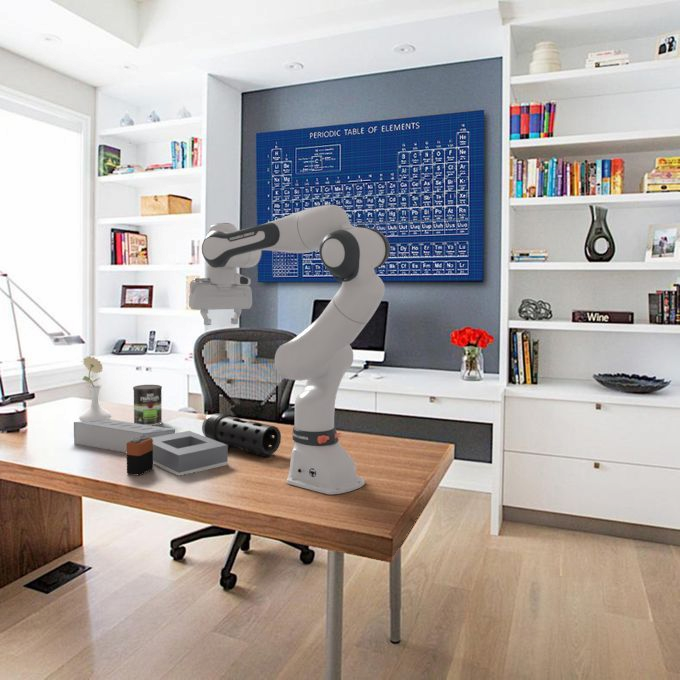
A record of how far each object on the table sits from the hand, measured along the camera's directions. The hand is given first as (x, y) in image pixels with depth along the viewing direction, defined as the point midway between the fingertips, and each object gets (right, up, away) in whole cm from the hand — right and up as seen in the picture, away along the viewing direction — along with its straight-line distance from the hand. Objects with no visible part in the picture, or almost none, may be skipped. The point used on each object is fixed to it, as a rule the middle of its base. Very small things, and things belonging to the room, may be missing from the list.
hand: (221, 324), depth 177 cm
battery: (-21, -42, -10) cm, 48 cm away
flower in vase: (-58, -36, +48) cm, 83 cm away
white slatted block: (-35, -40, +17) cm, 56 cm away
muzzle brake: (+3, -41, +13) cm, 43 cm away
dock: (-11, -41, -1) cm, 43 cm away
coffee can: (-37, -37, +46) cm, 70 cm away
